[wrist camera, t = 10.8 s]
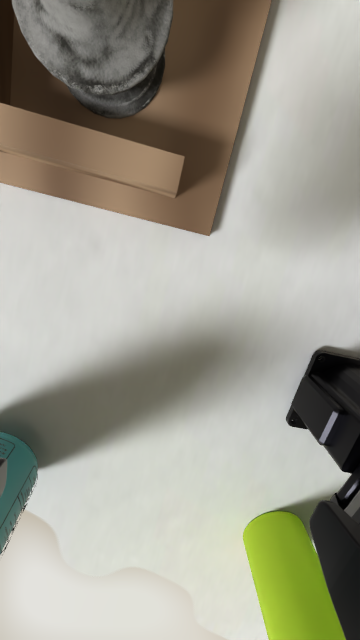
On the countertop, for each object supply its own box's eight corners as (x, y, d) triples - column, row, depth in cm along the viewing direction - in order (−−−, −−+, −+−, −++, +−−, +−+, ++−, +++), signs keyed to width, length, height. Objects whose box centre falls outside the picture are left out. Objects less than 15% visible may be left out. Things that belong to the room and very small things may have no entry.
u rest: (286, -66, 13) (333, -179, 9) (207, 235, 17) (219, 238, 14) (-86, -223, 11) (-208, -445, 7) (-72, 164, 15) (-146, 144, 11)
